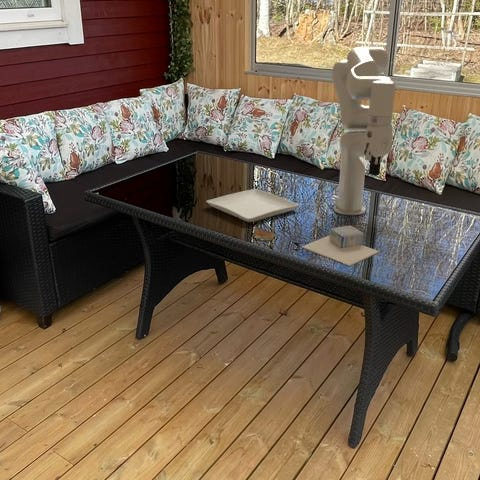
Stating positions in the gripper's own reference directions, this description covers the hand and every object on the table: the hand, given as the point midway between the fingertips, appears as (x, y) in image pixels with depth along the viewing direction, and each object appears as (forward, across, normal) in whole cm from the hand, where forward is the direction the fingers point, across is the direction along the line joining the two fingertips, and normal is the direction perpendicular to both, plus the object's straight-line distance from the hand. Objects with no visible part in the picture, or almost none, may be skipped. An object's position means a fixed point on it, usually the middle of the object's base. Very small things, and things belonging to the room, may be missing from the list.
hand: (373, 174), depth 185 cm
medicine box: (+20, -7, 0) cm, 21 cm away
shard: (+24, -28, +26) cm, 45 cm away
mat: (+22, -17, -1) cm, 28 cm away
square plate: (+24, -11, +48) cm, 55 cm away
